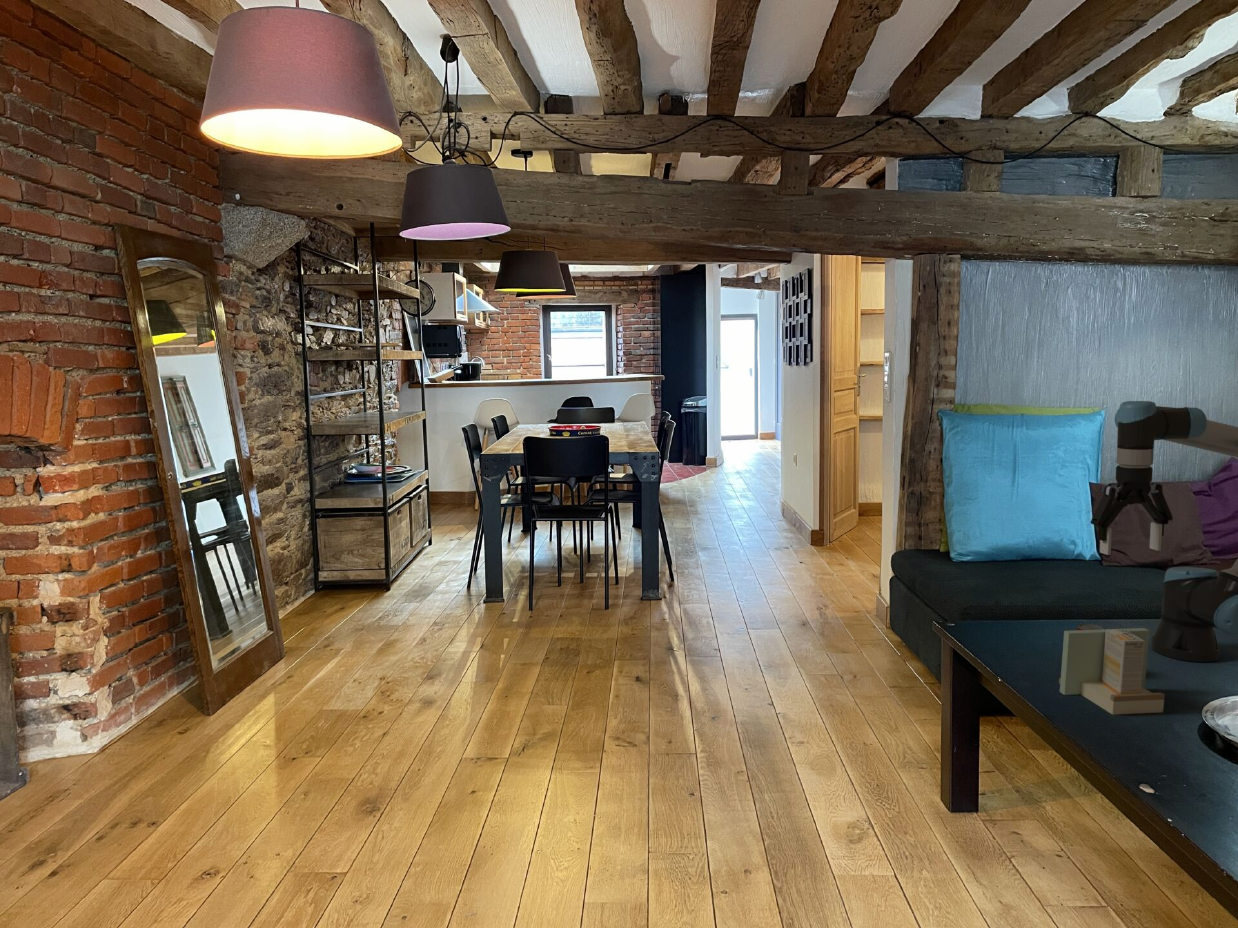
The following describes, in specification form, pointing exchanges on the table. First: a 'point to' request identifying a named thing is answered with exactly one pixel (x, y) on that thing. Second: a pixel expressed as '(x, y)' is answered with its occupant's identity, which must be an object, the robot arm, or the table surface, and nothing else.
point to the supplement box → (1123, 661)
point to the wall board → (1086, 674)
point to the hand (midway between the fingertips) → (1130, 551)
